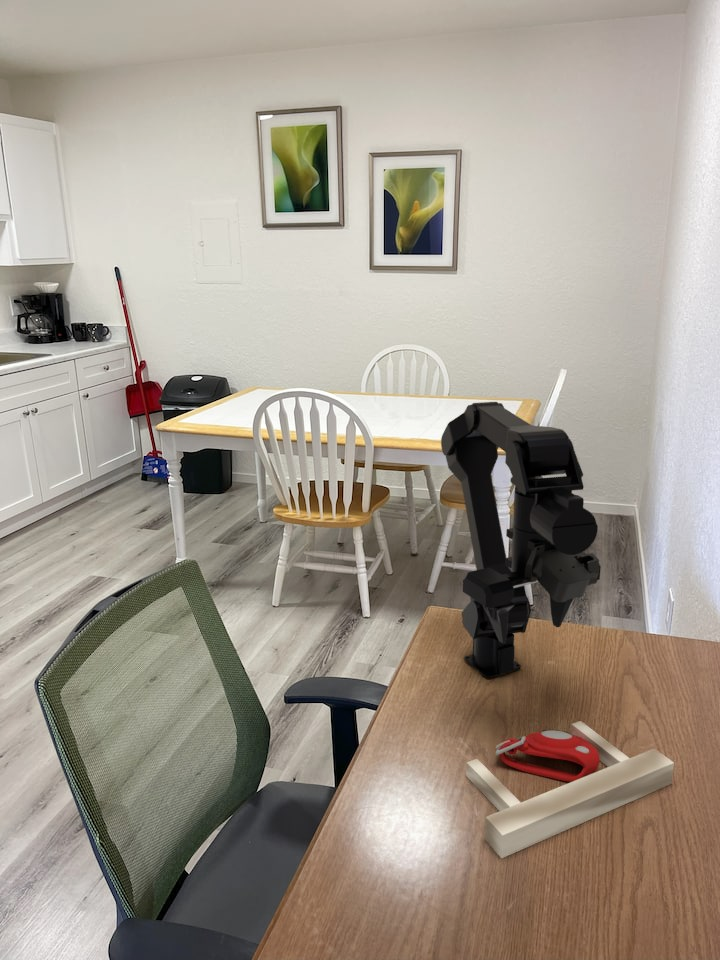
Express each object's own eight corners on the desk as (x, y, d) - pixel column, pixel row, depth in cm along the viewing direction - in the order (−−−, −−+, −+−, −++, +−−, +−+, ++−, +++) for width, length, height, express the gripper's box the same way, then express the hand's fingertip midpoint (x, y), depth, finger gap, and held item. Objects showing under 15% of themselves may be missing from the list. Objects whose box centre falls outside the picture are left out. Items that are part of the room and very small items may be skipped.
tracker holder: (551, 719, 100) (614, 739, 92) (550, 752, 100) (614, 775, 91) (487, 733, 93) (549, 756, 85) (486, 768, 93) (549, 795, 84)
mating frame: (438, 786, 89) (438, 765, 88) (596, 727, 99) (598, 708, 98) (501, 858, 78) (502, 835, 77) (671, 783, 88) (674, 762, 88)
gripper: (516, 561, 84) (510, 680, 89) (636, 532, 92) (626, 644, 97) (461, 530, 94) (459, 640, 98) (575, 507, 102) (567, 609, 106)
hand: (529, 633), depth 100 cm, fingers open, 9 cm apart
